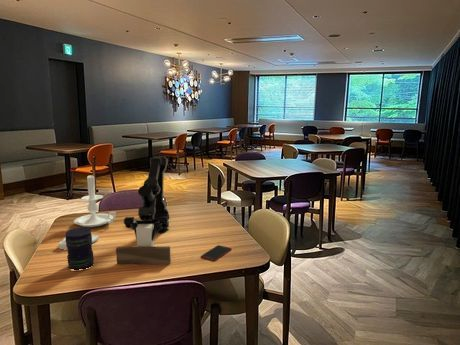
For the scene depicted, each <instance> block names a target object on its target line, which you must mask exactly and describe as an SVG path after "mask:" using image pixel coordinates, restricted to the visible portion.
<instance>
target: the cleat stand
mask: <svg viewBox="0 0 460 345" xmlns="http://www.w3.org/2000/svg"><path fill="white" fill-rule="evenodd" d="M115 254H116V255H115V256H116V265H117V264H137V265H170V264H171V262H172V260H171V259H172V258H171V246H169V245H168V246H167V245H166V246H162V245H161V246H154V247H137V246H117V247H116V248H115Z"/></svg>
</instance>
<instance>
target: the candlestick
mask: <svg viewBox="0 0 460 345" xmlns="http://www.w3.org/2000/svg"><path fill="white" fill-rule="evenodd" d="M86 179H87V193H88V195H85V196H82V197H80V200H82V201H88V202H89V203H88V205H87V211H88V212H89V213H90V214H85V215H82V216H80V217H79V216H78V217H77V218H75V219H74V220H73V223H74V224H75V225H77V226H80V227H82V228H97V227H101V226H104V225H105V224H106V225H107V224H113V223H114V220H115V218H116V217H117V216H116V213H117V212H116V211H109V212H108V213H97V212H98V211H99V209H100V208H99V205H98V203H97V200H100V199H103V198H104V195H102V194H96V191H95V190H96V189H95V188H96V183H95V180H96V179H95V176H94V175H90V174H89V175H88V176H87V177H86Z"/></svg>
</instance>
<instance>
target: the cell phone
mask: <svg viewBox="0 0 460 345" xmlns="http://www.w3.org/2000/svg"><path fill="white" fill-rule="evenodd" d="M231 251H232V247H227V246H223V245H219V244H218V245H216V246H214V247H213V248H211V249H210V250H208V251H206V252H205V253H203V254H201V255H200V259H204V260H208V261H210V262H216V261H218V260H219V259H220V258H222V257H224V256H225V255H226V254H228V253H230V252H231Z"/></svg>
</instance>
